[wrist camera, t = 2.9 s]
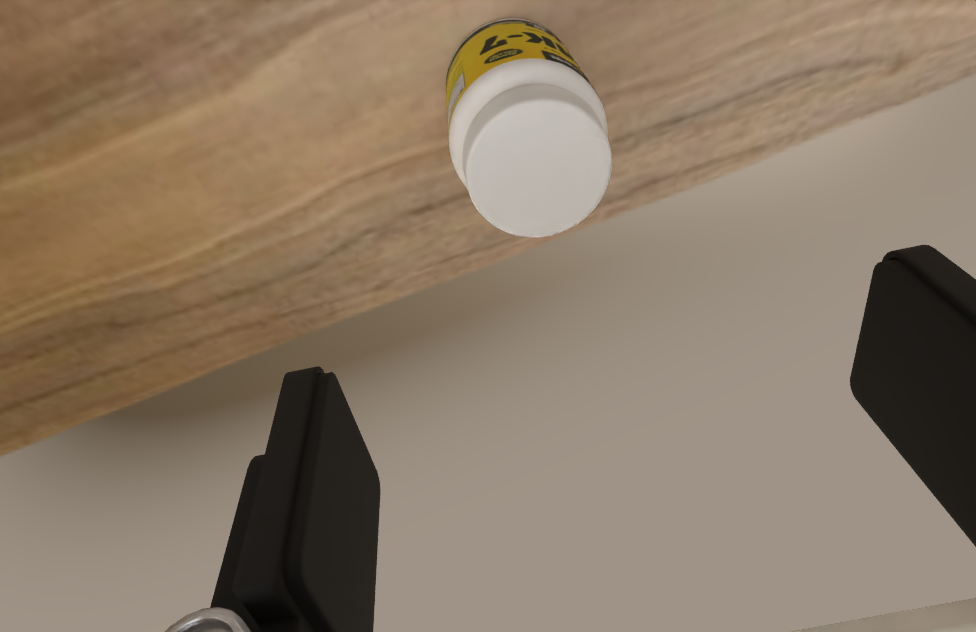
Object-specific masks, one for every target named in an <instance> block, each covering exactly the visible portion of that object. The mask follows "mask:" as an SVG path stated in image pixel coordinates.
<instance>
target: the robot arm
mask: <svg viewBox="0 0 976 632" xmlns="http://www.w3.org/2000/svg"><path fill="white" fill-rule="evenodd" d="M850 386H851V390H852V392H853V395H854V397H855V398H856V400H857V401H858V402H859V403H860V405H861V406H862V407H863V408H864V410H865V411H866V412H867V413H868V415H869V416H870V417H871V418H872V420H873V421H874V422H875V423H876V424H877V426H878V427H879V428H880V429H881V431H882V432H883V433H884V434H885V436H886V437H887V438H888V439H889V441H890V442H891V443H892V444H893V445H894V446H895V448H896V449H897V450H898V452H899V453H900V454H901V455H902V457H903V458H904V459H905V460H906V461H907V462H908V464H909V465H910V466H911V468H912V469H913V470H914V471H915V472H916V474H917V475H918V476H919V477H920V479H921V480H922V481H923V482H924V483H925V485H926V486H927V487H928V489H929V490H930V491H931V492H932V493H933V495H934V496H935V497H936V498H937V499H938V501H939V502H940V503H941V505H942V506H943V507H944V508H945V509H946V511H947V512H948V513H949V514H950V516H951V517H952V518H953V519H954V520H955V522H956V523H957V524H958V525H959V527H960V528H961V529H962V530H963V531H964V533H965V534H966V535H967V536H968V538H969V539H970V540H971V541H972V543H973V544H974V545H975V546H976V279H974V278H973V277H971V276H970V275H969V274H968V273H966V272H965V271H964V270H962V269H961V268H960V267H958V266H957V265H956V264H954V263H953V262H952V261H950V260H949V259H948V258H947V257H945V256H944V255H943V254H941V253H940V252H938V251H937V250H936V249H934V248H933V247H931V246H929V245H920V246H915V247H910V248H905V249H900V250H895V251H891V252H889V253H887V254H886V255H885V256H884V258H883V260H882V262H880V263H878V264H877V265H876V266H875V268H874V270H873V275H872V279H871V284H870V289H869V293H868V298H867V303H866V307H865V312H864V317H863V322H862V326H861V331H860V335H859V340H858V344H857V349H856V354H855V359H854V363H853V368H852V372H851V377H850ZM379 507H380V482H379V477H378V473H377V470H376V468H375V466H374V463H373V461H372V459H371V456H370V454H369V452H368V450H367V447H366V445H365V442H364V441H363V438H362V435H361V433H360V431H359V429H358V426H357V424H356V422H355V419H354V417H353V415H352V412H351V410H350V408H349V405H348V403H347V401H346V398H345V396H344V394H343V391H342V389H341V387H340V385H339V382H338V380H337V378H336V376H335V374H334V373H333V372H330V373H324V371H323V369H321V367H313V368H308V369H303V370H298V371H293V372H288V373H286V374H285V376H284V379H283V383H282V388H281V391H280V395H279V399H278V403H277V408H276V412H275V416H274V420H273V424H272V428H271V432H270V436H269V440H268V444H267V448H266V453H265V454H264V455H259V456H255V457H254V458H253V459H252V460H251V462H250V464H249V467H248V469H247V473H246V477H245V480H244V484H243V488H242V492H241V495H240V499H239V503H238V506H237V510H236V514H235V518H234V522H233V525H232V529H231V532H230V536H229V540H228V544H227V547H226V551H225V555H224V558H223V562H222V566H221V570H220V573H219V577H218V581H217V584H216V588H215V592H214V595H213V599H212V603H211V607H210V608H206V609H201V610H199V611H196V612H194V613H191V614H189V615H187V616H185V617H183V618H182V619H180V620H179V621H177V622H176V623H174V624H173V625H171V626H170V627H169V628H168V629H167V630H166V631H165V632H373V622H374V604H375V584H376V565H377V545H378V525H379ZM792 632H976V598H974V599H969V600H963V601H958V602H952V603H946V604H940V605H935V606H929V607H924V608H918V609H913V610H907V611H901V612H896V613H891V614H885V615H879V616H874V617H869V618H863V619H858V620H852V621H846V622H841V623H835V624H830V625H825V626H820V627H814V628H808V629H803V630H798V631H792Z"/></svg>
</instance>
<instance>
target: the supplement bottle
mask: <svg viewBox="0 0 976 632" xmlns="http://www.w3.org/2000/svg"><path fill="white" fill-rule="evenodd" d="M446 97H447V119H448V138H449V150H450V155H451V159H452V162H453V165H454V167H455V170H456V172H457V174H458V176H459V178H460V179H461V181H462V182H463V184H464V185H465V186H466V188H467V189H468V192H469V195H470V198H471V200H472V202H473V204H474V205H475V207H476V208H477V210H478V211H479V212H480V214H481V215H482V216H483V217H484V218H485V219H486V220H487V221H488V222H490V223H491V224H492V225H494V226H495V227H497V228H499V229H501V230H502V231H505V232H507V233H510V234H513V235H516V236H523V237H545V236H550V235H554V234H557V233H561V232H563V231H565V230H568V229H569V228H571V227H573V226H575V225H576V224H578V223H579V222H581V221H582V220H583V219H585V218H586V217H587V216H588V215H589V214H590V213H591V212H592V211H593V210H594V209H595V208H596V206H597V205H598V204H599V202H600V200H601V199H602V197H603V195H604V193H605V191H606V189H607V187H608V184H609V180H610V176H611V169H612V157H611V149H610V146H609V142H608V139H607V121H606V116H605V112H604V108H603V105H602V103H601V100H600V99H599V97H598V95H597V93H596V91H595V89H594V87H593V86H592V85H591V84H590V82H589V81H588V79H587V78H586V76H585V75H584V74H583V72H582V71H581V69H580V67H579V66H578V65H577V63H576V62H575V61H574V59H573V58H572V57H571V55H570V54H569V52H568V51H567V49H566V48H565V47H564V45H563V44H562V43H561V41H560V40H559V39H558V38H557V37H556V36H555V35H554V34H553V33H552V32H551V31H549V30H548V29H547V28H545V27H544V26H542V25H540V24H538V23H535V22H533V21H529V20H525V19H517V18H507V19H500V20H496V21H492V22H489V23H487V24H484V25H482V26H480V27H479V28H477V29H476V30H474V31H473V32H472V33H470V34H469V35H468V36H467V37H466V38H465V39H464V40H463V42H462V43H461V44H460V45H459V47H458V48H457V50H456V51H455V53H454V55H453V57H452V60H451V62H450V65H449V68H448V72H447V79H446Z"/></svg>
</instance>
